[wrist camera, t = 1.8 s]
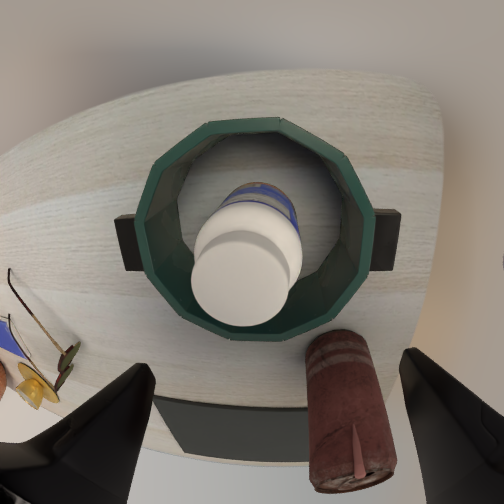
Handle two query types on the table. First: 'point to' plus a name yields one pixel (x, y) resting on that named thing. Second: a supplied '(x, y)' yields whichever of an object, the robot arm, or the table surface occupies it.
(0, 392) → the planter
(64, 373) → the sunglasses
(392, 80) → the table surface
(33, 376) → the cup
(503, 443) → the robot arm
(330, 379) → the can
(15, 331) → the hard drive
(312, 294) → the pot
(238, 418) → the mat
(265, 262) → the pill bottle
